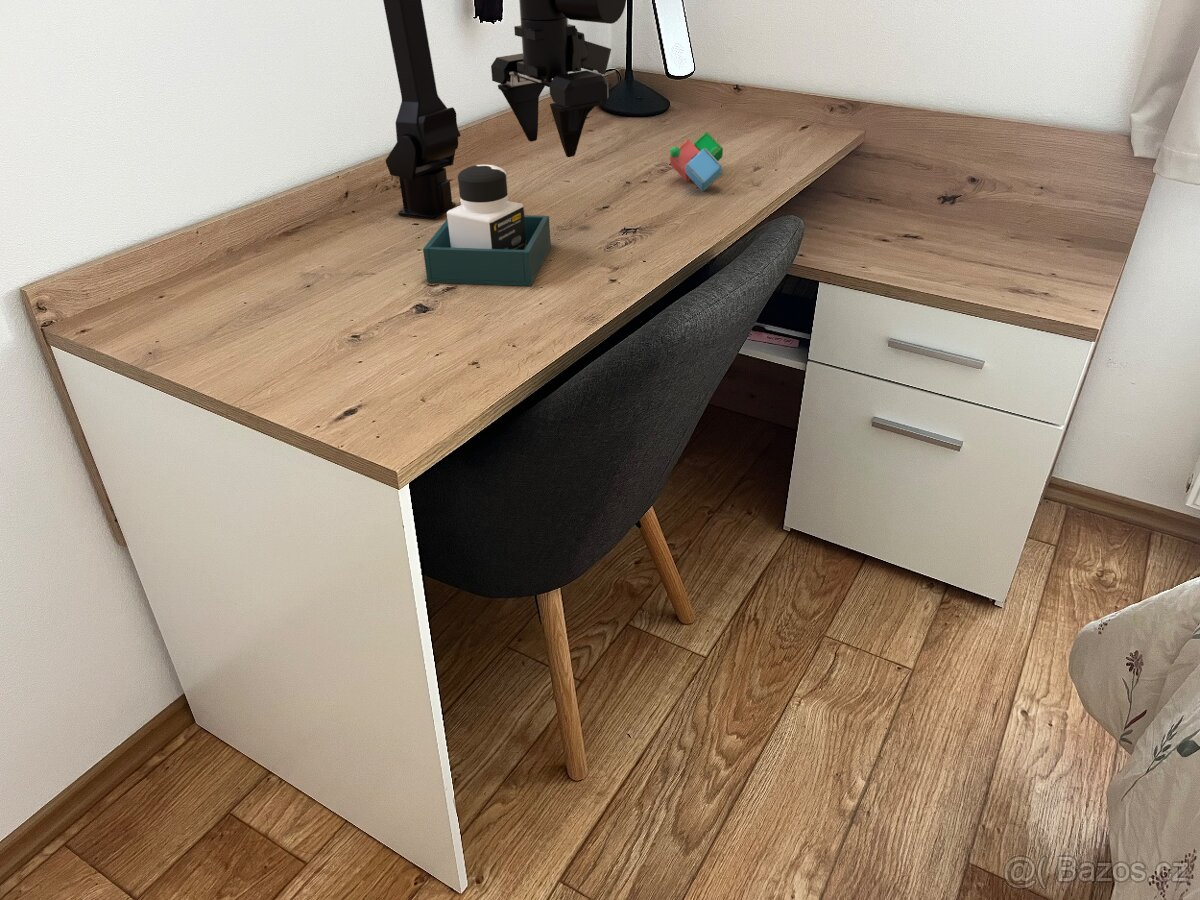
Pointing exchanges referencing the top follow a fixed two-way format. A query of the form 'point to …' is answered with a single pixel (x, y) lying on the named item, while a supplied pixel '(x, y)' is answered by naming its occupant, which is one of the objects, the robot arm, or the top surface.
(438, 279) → the desk bin
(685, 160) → the building blocks
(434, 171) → the robot arm
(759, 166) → the top surface
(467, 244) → the medicine bottle
